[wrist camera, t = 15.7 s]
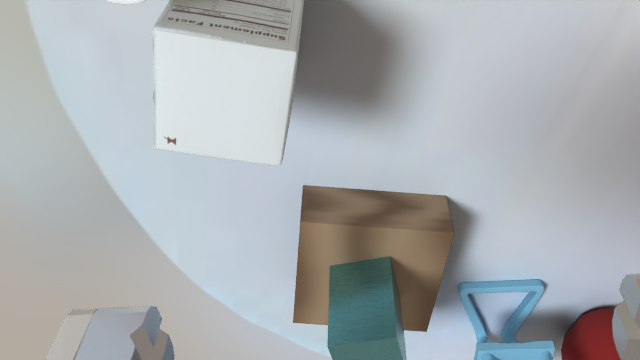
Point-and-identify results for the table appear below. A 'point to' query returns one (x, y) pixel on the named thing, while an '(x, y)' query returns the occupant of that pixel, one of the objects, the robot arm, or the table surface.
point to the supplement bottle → (126, 1)
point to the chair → (511, 354)
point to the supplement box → (225, 77)
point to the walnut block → (372, 246)
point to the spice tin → (365, 312)
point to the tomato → (591, 337)
